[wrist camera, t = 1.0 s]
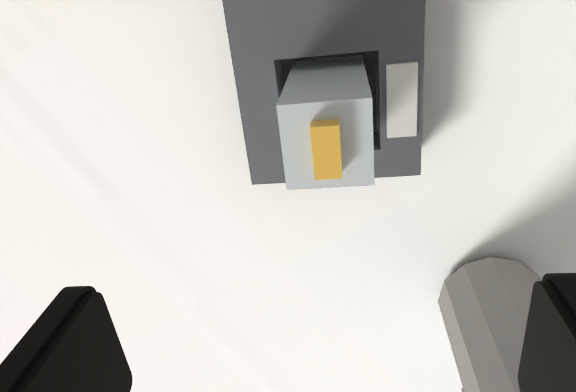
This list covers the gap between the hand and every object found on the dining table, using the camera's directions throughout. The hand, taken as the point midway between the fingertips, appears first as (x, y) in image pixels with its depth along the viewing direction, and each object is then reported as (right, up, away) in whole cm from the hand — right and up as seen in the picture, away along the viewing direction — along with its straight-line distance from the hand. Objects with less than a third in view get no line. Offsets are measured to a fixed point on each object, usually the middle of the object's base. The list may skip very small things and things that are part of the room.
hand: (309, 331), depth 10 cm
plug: (+2, +9, +18) cm, 20 cm away
